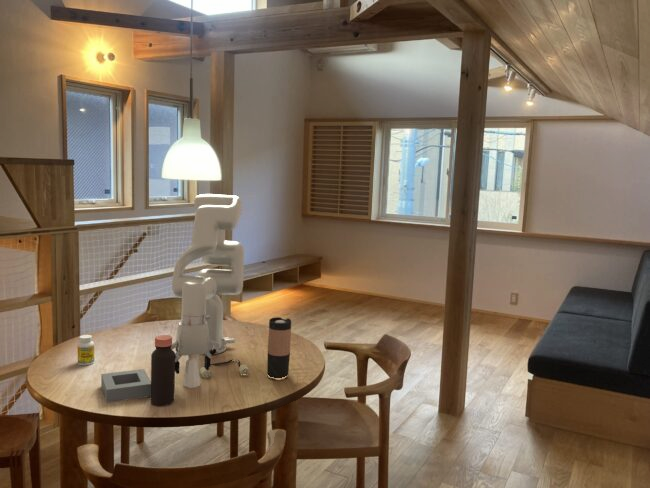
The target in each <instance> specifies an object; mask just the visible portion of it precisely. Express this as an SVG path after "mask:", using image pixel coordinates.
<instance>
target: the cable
mask: <svg viewBox="0 0 650 488" xmlns="http://www.w3.org/2000/svg"><path fill="white" fill-rule="evenodd" d="M232 360H233V359H229V360H227V361H223V362H216V363H211V365H215V366H221V365H226V364H229V363H232V362H231V361H232ZM237 360H238V361H239V363H238V367H239V365H240V362H241V361H240V360H239V359H237ZM238 371H239V374H240V375H241V374H242V375H243V374H249V375H250V370H249V367H248V365H247V364H241V366H240V367H239V368H238ZM199 374H200V375H201V377H202V378H203V377H204V378H203V379H206V378H211V376H212V373H211V369H209V370H206V369H205V368H204V366H202V367H201V368H199ZM243 376H244V375H243ZM205 377H206V378H205Z"/></svg>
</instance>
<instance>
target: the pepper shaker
mask: <svg viewBox="0 0 650 488" xmlns="http://www.w3.org/2000/svg"><path fill="white" fill-rule="evenodd" d="M187 356H188V358H187V360H186V363H185V371H184V376H183V377H184V378H183V386H184V387H185V388H187V389H188V388H191V389H194V388H198V387H200V385H201V377H200V375H201V373H200V364H199V359H198V358H197V357H198V354H196V355H187Z"/></svg>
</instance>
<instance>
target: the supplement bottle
mask: <svg viewBox="0 0 650 488" xmlns="http://www.w3.org/2000/svg"><path fill="white" fill-rule="evenodd" d="M78 340H79V342H78V343H77V364H78V365H80V366H90V365H92V364H94V363H95V342H94V341H93V336H92V335H91V334H82V335H79V339H78Z"/></svg>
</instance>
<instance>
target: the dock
mask: <svg viewBox="0 0 650 488" xmlns="http://www.w3.org/2000/svg"><path fill="white" fill-rule="evenodd" d="M100 377H101V378H100V382H101V384H100V385H101V389H102V392H103V396H104V398H105V401H106V404H107V403H113V402H121V401H128V400H134V399H135V400H136V399H142V398H149V397H150V398H151V378H150V377H149V375H148V373H147V372H146V370H145V368H141V369H140V368H139V369H131V370H125V371H115V372H107V373H106V372H105V373H101V374H100Z"/></svg>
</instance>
